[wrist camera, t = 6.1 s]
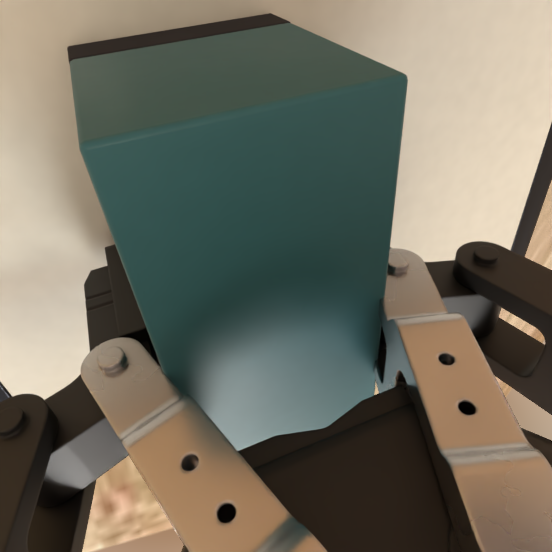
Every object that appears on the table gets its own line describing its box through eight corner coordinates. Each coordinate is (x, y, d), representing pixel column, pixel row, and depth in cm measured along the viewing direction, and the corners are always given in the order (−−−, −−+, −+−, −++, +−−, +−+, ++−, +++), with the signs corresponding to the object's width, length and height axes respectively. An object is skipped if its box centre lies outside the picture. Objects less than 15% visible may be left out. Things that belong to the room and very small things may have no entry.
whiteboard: (-416, -98, 7) (-484, -99, 6) (638, -189, 12) (685, -197, 11) (36, 444, 18) (35, 472, 17) (494, 278, 23) (512, 293, 22)
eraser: (66, 45, 9) (76, 144, 5) (271, 12, 10) (411, 73, 6) (178, 374, 17) (220, 525, 12) (294, 334, 18) (368, 461, 13)
